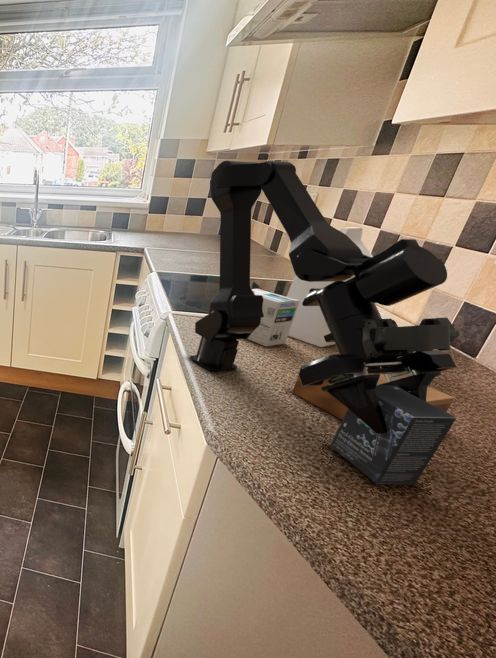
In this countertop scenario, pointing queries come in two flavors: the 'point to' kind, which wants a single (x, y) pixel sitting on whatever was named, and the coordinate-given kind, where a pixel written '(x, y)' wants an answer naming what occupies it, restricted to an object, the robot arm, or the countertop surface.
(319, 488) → the countertop surface
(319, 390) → the wooden plinth
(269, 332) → the light bulb box
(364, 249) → the milk
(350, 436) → the box
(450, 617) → the countertop surface
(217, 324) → the robot arm
